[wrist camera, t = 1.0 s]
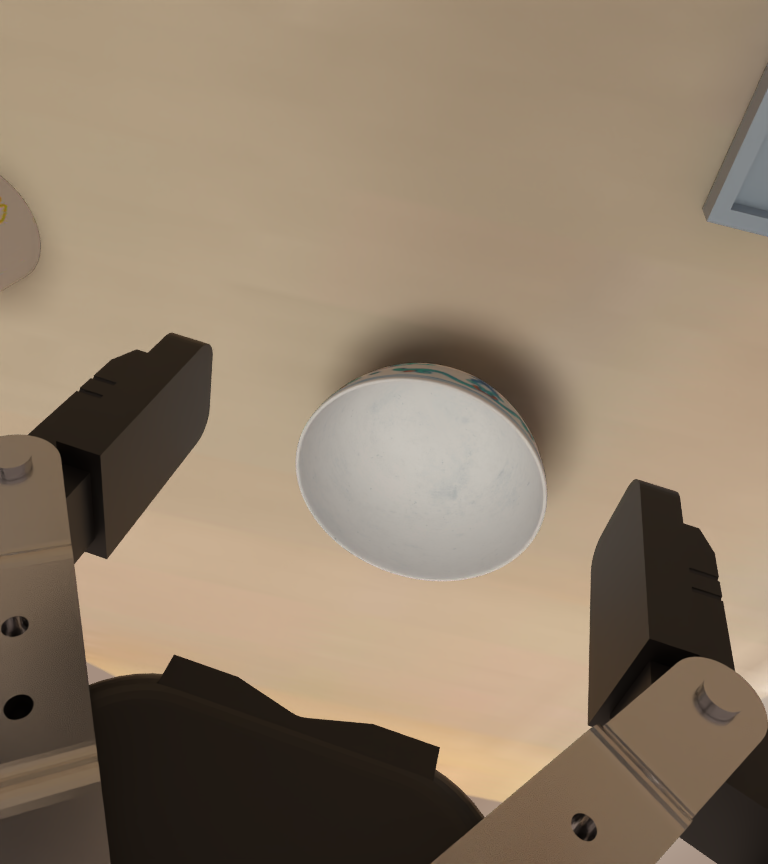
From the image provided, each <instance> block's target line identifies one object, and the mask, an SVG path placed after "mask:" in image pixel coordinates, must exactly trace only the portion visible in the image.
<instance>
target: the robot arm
mask: <svg viewBox="0 0 768 864" xmlns="http://www.w3.org/2000/svg"><path fill="white" fill-rule="evenodd" d="M212 356H213V353H212V347H211V346H210V345H209V344H207V343H203V342H200V341H197V340H194V339H191V338H187V337H184V336H181V335H178V334H175V333H169V334H167V335H166V336H165V337H164V338H163V339H162V340H161V341H160V342H159V343H158V344H157V345H156V346H155V347H154V348H152V349H151V350H150V351H149V352H148V353H146V352H143V351H140V350H134V351H132V352H129V353H127V354H124V355H122V356H119V357H117V358H115V359H112V360H111V361H109V362H108V363H107V364H106V365H105V366H104V367H103V368H102V369H100V370H99V371H98V372H97V373H96V374H95V375H94V378H93V379H91V378H90V379H89V380H88V381H87V382H86V383H85V384H84V385H83V386H82V387H80V390H79V392H78V391H76V392H75V393H74V394H73V395H72V396H70V397H69V398H68V399H67V400H66V401H65V402H64V403H63V404H62V405H60V406H59V407H58V408H57V409H56V410H55V411H54V412H53V413H52V414H50V415H49V416H48V417H47V418H46V419H45V420H44V421H43V422H42V423H40V424H39V425H38V426H37V427H36V428H35V429H34V430H33V431H32V432H30V433H29V434H28V435H6V436H0V864H655V863H656V862H657V861H658V860H659V859H660V858H661V857H662V856H663V855H664V853H665V852H666V851H667V850H668V849H669V848H670V847H671V845H672V844H673V843H674V842H675V841H676V840H677V839H678V838H679V837H680V838H681V839H683V840H684V841H686V842H687V843H689V844H690V845H692V846H693V847H694V848H696V849H697V850H699V851H700V852H701V853H703V854H704V855H706V856H707V857H709V858H710V859H711V860H713V861H714V862H716V863H717V864H768V720H767V714H766V711H765V708H764V705H763V703H762V701H761V699H760V698H759V696H758V695H757V693H756V692H755V690H754V689H753V688H752V687H751V685H750V684H749V683H748V682H747V681H746V680H745V679H744V678H743V677H741V676H740V675H739V674H738V673H736V672H735V668H734V662H733V656H732V651H731V645H730V639H729V633H728V628H727V622H726V616H725V610H724V604H723V601H721V598H722V593H721V587H720V582H719V581H718V577H719V575H718V570H717V564H716V558H715V553H714V551H713V550H712V548H711V547H710V545H709V543H708V542H707V540H706V539H705V537H704V535H703V534H702V532H701V531H700V529H699V528H696V527H693V526H690V525H687V524H683V517H682V509H681V502H680V496H679V493H678V492H676V491H673V490H670V489H666V488H663V487H660V486H657V485H654V484H650V483H647V482H644V481H641V480H638V479H635V480H633V481H632V482H631V484H630V485H629V486H628V488H627V490H626V492H625V493H624V495H623V497H622V499H621V501H620V502H619V504H618V506H617V508H616V510H615V511H614V513H613V515H612V517H611V519H610V520H609V522H608V524H607V526H606V528H605V529H604V531H603V533H602V535H601V537H600V539H599V541H598V543H597V546H596V549H595V552H594V556H593V560H592V566H591V597H590V645H589V693H588V725H589V726H591V727H592V728H590V729H589V730H588V731H587V732H585V733H584V734H583V735H582V736H581V737H580V738H578V739H577V740H576V741H575V742H574V743H572V744H571V745H570V746H569V747H568V748H567V749H565V750H564V751H563V752H562V753H561V754H559V755H558V756H557V757H556V758H555V759H554V760H552V761H551V762H550V763H549V764H548V765H546V766H545V767H544V768H543V769H542V770H541V771H539V772H538V773H537V774H536V775H535V776H533V777H532V778H531V779H530V780H529V781H528V782H526V783H525V784H524V785H523V786H522V787H520V788H519V789H518V790H517V791H516V792H515V793H513V794H512V795H511V796H510V797H509V798H507V799H506V800H505V801H504V802H503V803H502V804H500V805H499V806H498V807H497V808H496V809H494V810H493V811H492V812H491V813H490V814H489V815H487V816H486V817H484V816H483V814H482V813H481V812H480V811H479V810H478V808H477V807H476V806H475V804H474V803H473V802H472V801H471V799H470V798H469V797H468V796H467V795H466V794H465V793H464V792H463V791H462V790H461V789H460V788H459V787H458V786H457V785H455V784H454V783H453V782H452V781H451V780H449V779H448V778H447V777H446V776H444V775H443V774H441V773H440V772H438V771H437V770H436V764H437V759H438V754H439V749H440V747H437V746H434V745H431V744H428V743H425V742H423V741H420V740H417V739H414V738H411V737H408V736H405V735H403V734H400V733H397V732H394V731H391V730H388V729H385V728H383V727H380V726H377V725H374V724H366V723H355V722H344V721H333V720H322V719H312V718H304V717H300V716H297V715H295V714H293V713H291V712H290V711H288V710H287V709H285V708H284V707H282V706H281V705H279V704H278V703H276V702H275V701H273V700H272V699H270V698H269V697H267V696H266V695H264V694H263V693H261V692H260V691H258V690H257V689H255V688H254V687H252V686H251V685H249V684H248V683H246V682H245V681H243V680H242V679H240V678H239V677H237V676H234V675H231V674H228V673H225V672H222V671H219V670H217V669H214V668H211V667H208V666H205V665H202V664H199V663H197V662H194V661H191V660H188V659H185V658H182V657H179V656H176V655H174V656H173V658H172V659H171V661H170V663H169V665H168V666H167V668H166V670H165V671H164V673H163V674H154V673H152V674H132V675H125V676H118V677H114V678H110V679H106V680H102V681H99V682H96V683H94V684H91V685H89V683H88V675H87V666H86V658H85V650H84V642H83V633H82V625H81V617H80V609H79V600H78V592H77V584H76V576H75V567H74V564H75V563H76V561H77V560H78V559H79V558H80V557H81V555H82V554H83V553H84V552H88V553H91V554H93V555H96V556H99V557H102V558H105V559H107V558H108V557H109V556H110V555H111V553H112V552H113V551H114V549H115V548H116V547H117V546H118V544H119V543H120V542H121V540H122V539H123V538H124V537H125V535H126V534H127V533H128V531H129V530H130V529H131V527H132V526H133V525H134V524H135V522H136V521H137V520H138V518H139V517H140V516H141V515H142V513H143V512H144V511H145V509H146V508H147V507H148V506H149V504H150V503H151V502H152V500H153V499H154V498H155V496H156V495H157V494H158V493H159V491H160V490H161V489H162V487H163V486H164V485H165V484H166V482H167V481H168V480H169V478H170V477H171V476H172V475H173V473H174V472H175V471H176V469H177V468H178V467H179V465H180V464H181V463H182V462H183V460H184V459H185V458H186V456H187V455H188V454H189V453H190V451H191V450H192V449H193V447H194V446H195V445H196V444H197V442H198V441H199V439H200V438H201V436H202V434H203V432H204V429H205V426H206V424H207V420H208V416H209V409H210V392H211V374H212Z"/></svg>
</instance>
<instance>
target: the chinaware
mask: <svg viewBox="0 0 768 864" xmlns="http://www.w3.org/2000/svg"><path fill="white" fill-rule="evenodd" d="M296 474H297V480H298V484H299V488H300V491H301V494H302V496H303V499H304V501H305V503H306V505H307V507H308V509H309V510H310V512H311V514H312V515H313V517H314V518H315V519H316V521H317V522H318V523H319V525H320V526H321V527H322V528H323V529H324V531H325V532H326V533H327V534H328V535H329V536H330V537H331V538H332V539H333V540H335V541H336V542H337V543H338V544H339V545H340V546H342V547H343V548H344V549H346V550H347V551H348V552H350V553H351V554H353V555H354V556H356V557H358V558H359V559H361V560H363V561H365V562H367V563H369V564H371V565H373V566H375V567H377V568H380V569H382V570H385V571H387V572H390V573H393V574H397V575H400V576H404V577H408V578H413V579H419V580H428V581H456V580H464V579H469V578H474V577H478V576H482V575H485V574H488V573H490V572H493V571H495V570H497V569H499V568H501V567H503V566H505V565H506V564H508V563H510V562H511V561H513V560H514V559H515V558H517V557H518V556H519V555H520V554H521V553H522V552H523V551H524V550H525V549H526V548H527V547H528V546H529V545H530V544H531V542H532V541H533V540H534V538H535V536H536V535H537V533H538V531H539V529H540V527H541V525H542V522H543V519H544V516H545V512H546V505H547V483H546V477H545V472H544V467H543V463H542V459H541V456H540V453H539V450H538V448H537V445H536V443H535V440H534V438H533V436H532V434H531V432H530V430H529V428H528V427H527V425H526V423H525V422H524V420H523V419H522V417H521V416H520V415H519V413H518V412H517V411H516V409H515V408H514V407H513V406H512V405H511V404H510V403H509V402H508V400H506V399H505V398H504V397H503V396H502V395H501V394H500V393H499V392H498V391H496V390H495V389H494V388H492V387H491V386H490V385H488V384H487V383H485V382H484V381H482V380H480V379H478V378H477V377H475V376H473V375H471V374H468V373H466V372H463V371H461V370H458V369H455V368H452V367H448V366H443V365H438V364H430V363H406V364H398V365H392V366H388V367H384V368H380V369H377V370H375V371H372V372H369V373H367V374H365V375H363V376H360V377H358V378H357V379H355V380H353V381H351V382H350V383H348V384H346V385H345V386H343V387H342V388H340V389H339V390H338V391H336V392H335V393H334V394H333V395H331V396H330V397H329V398H328V399H327V400H326V401H325V402H324V403H323V404H322V405H321V406H320V407H319V408H318V409H317V410H316V411H315V412H314V413H313V415H312V416H311V417H310V419H309V420H308V422H307V424H306V425H305V427H304V429H303V431H302V434H301V436H300V439H299V442H298V446H297V452H296Z"/></svg>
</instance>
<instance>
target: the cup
mask: <svg viewBox="0 0 768 864" xmlns="http://www.w3.org/2000/svg"><path fill="white" fill-rule="evenodd" d="M39 256H40V236H39V231H38V227H37V224H36V222H35V219H34V217H33V215H32V213H31V211H30V209H29V207H28V206H27V204H26V203H25V201H24V200H23V198H22V197H21V196H20V194H19V193H18V192H17V191H16V190H15V189H14V188H13V187H12V186H11V185H10V184H9V183H8V182H7V181H6V180H5V179H4V178H2V177H1V176H0V292H1V291H2V290H4V289H6V288H7V287H9V286H11V285H12V284H14V283H16V282H17V281H19V280H21V279H22V278H24V277H26V276H27V275H29V274H30V273H31V272H32V271H33V270H34V268H35V267H36V265H37V263H38V260H39Z"/></svg>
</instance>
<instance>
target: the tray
mask: <svg viewBox="0 0 768 864" xmlns="http://www.w3.org/2000/svg"><path fill="white" fill-rule="evenodd" d="M703 212H704V215H705V218H706V220H707V222H711V223H715V224H719V225H723V226H727V227H731V228H735V229H739V230H743V231H747V232H751V233H755V234H759V235H763V236H767V237H768V64H767V66H766V68H765V70H764V73H763V75H762V77H761V79H760V82H759V84H758V86H757V88H756V90H755V93H754V95H753V97H752V99H751V102H750V104H749V106H748V108H747V110H746V113H745V115H744V117H743V119H742V122H741V124H740V126H739V128H738V131H737V133H736V135H735V137H734V139H733V142H732V144H731V146H730V148H729V151H728V153H727V155H726V157H725V160H724V162H723V164H722V166H721V168H720V171H719V173H718V175H717V177H716V180H715V182H714V184H713V186H712V188H711V191H710V193H709V195H708V197H707V200H706V202H705V204H704V206H703Z"/></svg>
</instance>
